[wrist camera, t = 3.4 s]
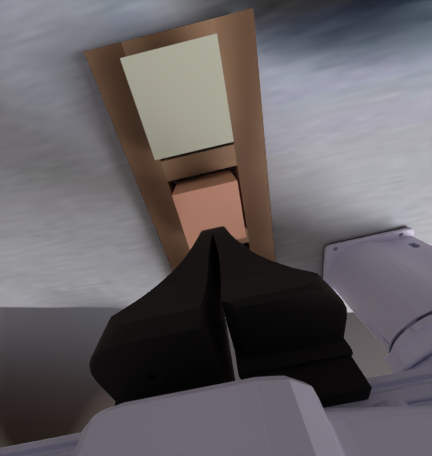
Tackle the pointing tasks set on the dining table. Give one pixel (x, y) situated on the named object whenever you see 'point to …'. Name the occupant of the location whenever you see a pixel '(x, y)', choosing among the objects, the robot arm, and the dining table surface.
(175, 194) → the terracotta button
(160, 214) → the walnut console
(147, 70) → the sage button
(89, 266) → the dining table surface
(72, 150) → the dining table surface
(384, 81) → the dining table surface
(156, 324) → the robot arm
